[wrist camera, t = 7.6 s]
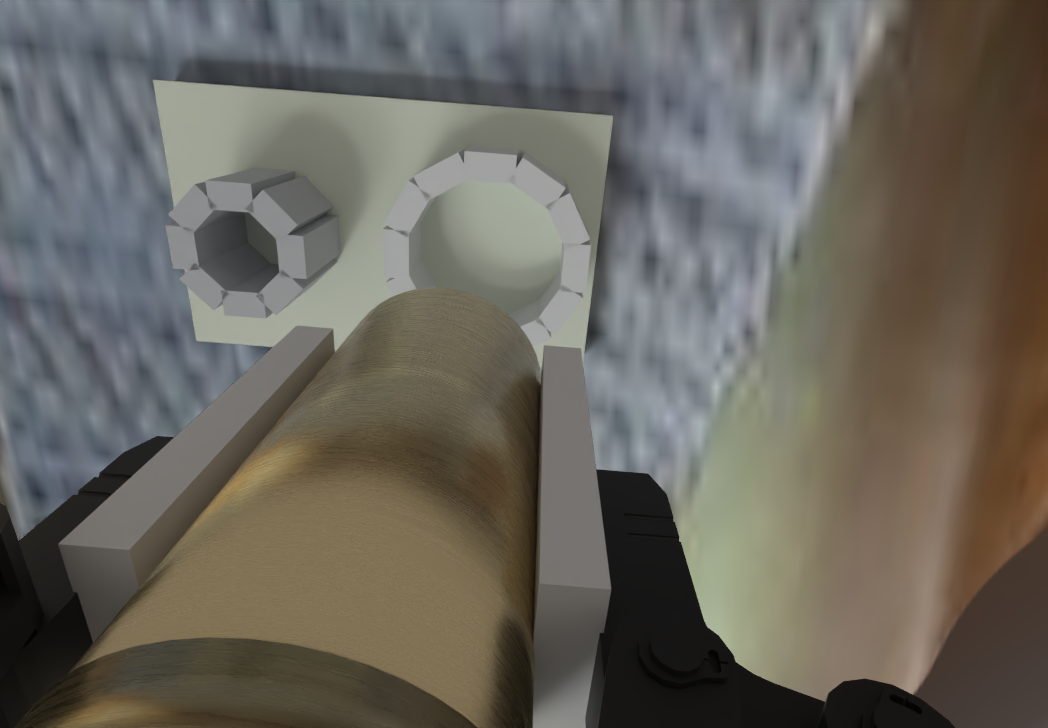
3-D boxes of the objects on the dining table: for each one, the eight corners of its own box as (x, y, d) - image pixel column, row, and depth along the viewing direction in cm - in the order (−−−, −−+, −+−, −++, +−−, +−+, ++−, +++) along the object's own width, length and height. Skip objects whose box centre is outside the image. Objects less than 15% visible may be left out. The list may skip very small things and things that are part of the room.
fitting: (347, 460, 14) (-14, 1113, 5) (334, 276, 12) (-265, 787, 3) (535, 474, 14) (512, 1158, 5) (552, 293, 12) (563, 858, 3)
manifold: (213, 329, 29) (143, 378, 24) (174, 80, 25) (79, 77, 20) (580, 358, 29) (587, 413, 24) (609, 114, 25) (625, 119, 20)
